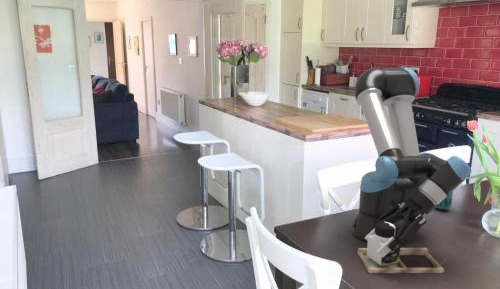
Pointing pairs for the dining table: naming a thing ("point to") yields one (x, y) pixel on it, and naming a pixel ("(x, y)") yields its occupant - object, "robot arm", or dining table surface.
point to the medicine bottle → (379, 239)
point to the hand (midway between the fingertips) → (373, 247)
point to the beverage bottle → (445, 202)
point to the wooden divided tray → (394, 268)
